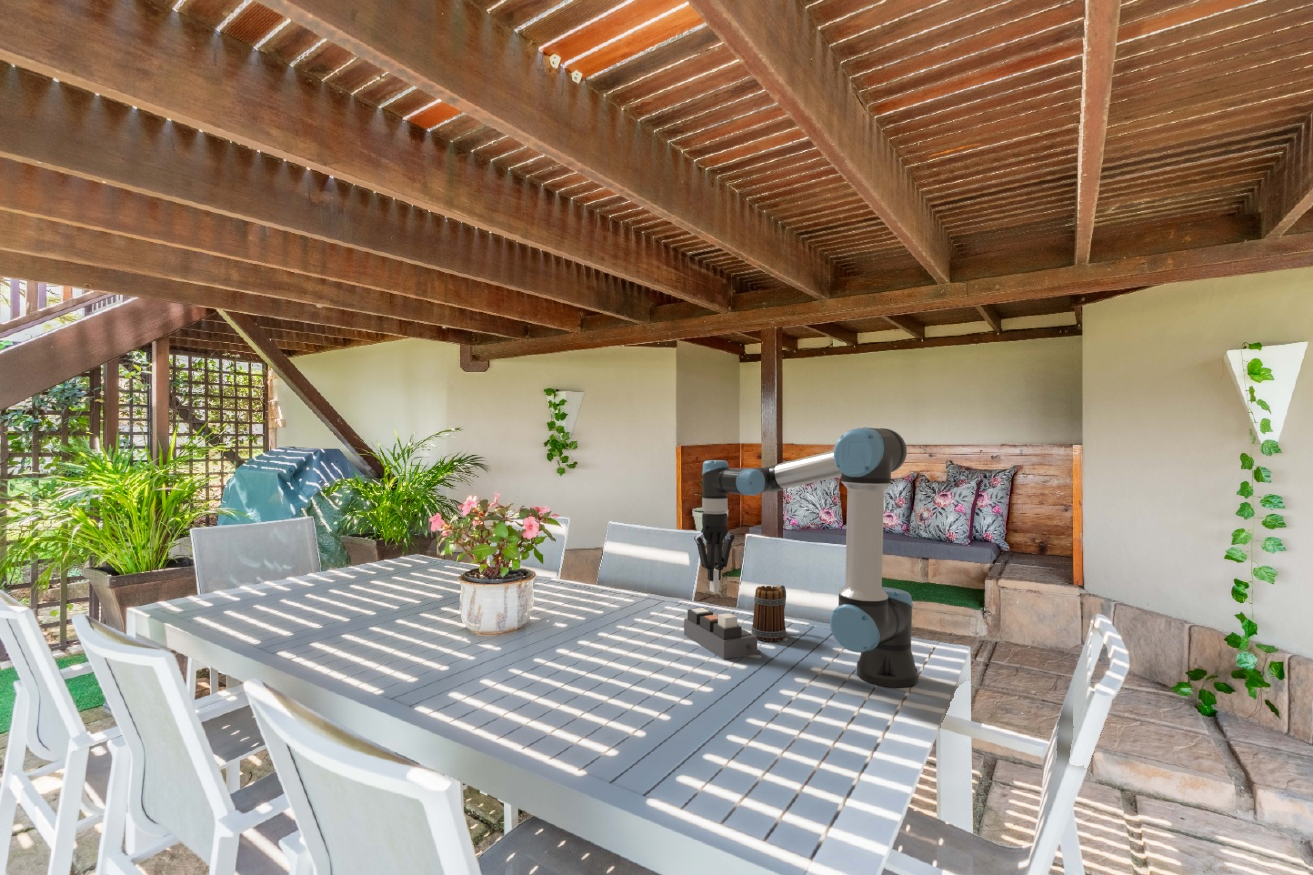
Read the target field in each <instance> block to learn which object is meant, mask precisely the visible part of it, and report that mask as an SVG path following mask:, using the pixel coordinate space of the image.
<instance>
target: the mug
mask: <svg viewBox="0 0 1313 875" xmlns="http://www.w3.org/2000/svg"><path fill="white" fill-rule="evenodd" d="M754 592H755V594H754V597H753V598H754V600H753V602H754V605H753V606H754V607H753V619H752V625H751V634H753V635H755V636H757V641H761V642H767V643H768V642H770V643H775V642H781V641H783V640H784V639H785V638H786V635H787V629H786V622H785V621H786V620H785V609H786V604H787V603H786V602H787V591H786V587H785V585H783V584H782V585H781V584H777V585H776V586H775V585H774V586H773V585H766V586H765V585H761V586H757V587H756V588H755V591H754Z"/></svg>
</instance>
